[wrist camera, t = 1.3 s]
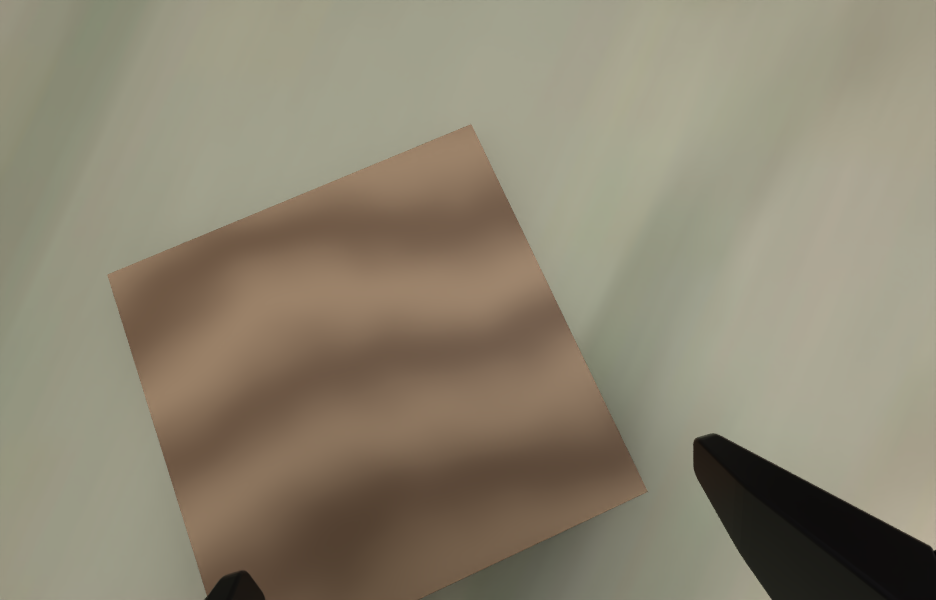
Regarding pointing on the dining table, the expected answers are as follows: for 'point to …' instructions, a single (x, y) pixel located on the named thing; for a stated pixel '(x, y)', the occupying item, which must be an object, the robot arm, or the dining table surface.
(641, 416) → the dining table surface
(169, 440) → the walnut board
